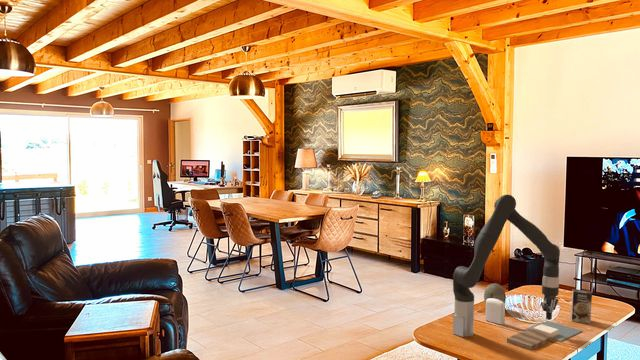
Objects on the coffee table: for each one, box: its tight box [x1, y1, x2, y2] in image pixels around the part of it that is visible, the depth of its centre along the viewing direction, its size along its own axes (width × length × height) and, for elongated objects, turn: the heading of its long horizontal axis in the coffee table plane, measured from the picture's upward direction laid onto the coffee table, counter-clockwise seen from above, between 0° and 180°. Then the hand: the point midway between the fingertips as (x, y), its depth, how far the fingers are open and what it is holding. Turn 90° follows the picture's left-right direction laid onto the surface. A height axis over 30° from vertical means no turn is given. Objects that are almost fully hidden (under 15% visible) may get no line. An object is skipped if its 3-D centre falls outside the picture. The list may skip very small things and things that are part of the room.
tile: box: [533, 324, 559, 337], centre depth 257 cm, size 8×9×2 cm
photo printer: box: [484, 298, 506, 325], centre depth 274 cm, size 10×4×12 cm, turn 39°
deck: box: [506, 329, 554, 351], centre depth 249 cm, size 20×12×2 cm, turn 128°
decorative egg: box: [483, 282, 506, 305], centre depth 295 cm, size 12×12×15 cm
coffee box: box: [570, 288, 593, 324], centre depth 277 cm, size 9×6×16 cm
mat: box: [523, 320, 583, 343], centre depth 262 cm, size 22×19×1 cm
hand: (548, 319), depth 258 cm, fingers closed
